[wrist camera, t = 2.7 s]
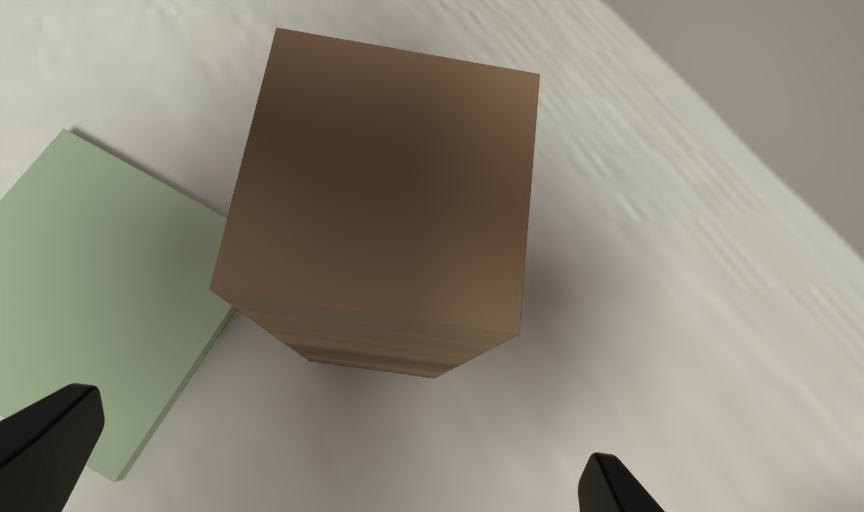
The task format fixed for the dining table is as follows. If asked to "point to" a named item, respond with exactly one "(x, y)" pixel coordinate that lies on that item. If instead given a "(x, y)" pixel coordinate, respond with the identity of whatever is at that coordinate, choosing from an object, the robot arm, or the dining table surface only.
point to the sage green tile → (105, 291)
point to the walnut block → (382, 205)
